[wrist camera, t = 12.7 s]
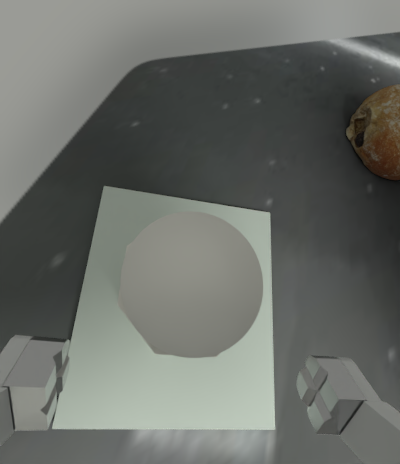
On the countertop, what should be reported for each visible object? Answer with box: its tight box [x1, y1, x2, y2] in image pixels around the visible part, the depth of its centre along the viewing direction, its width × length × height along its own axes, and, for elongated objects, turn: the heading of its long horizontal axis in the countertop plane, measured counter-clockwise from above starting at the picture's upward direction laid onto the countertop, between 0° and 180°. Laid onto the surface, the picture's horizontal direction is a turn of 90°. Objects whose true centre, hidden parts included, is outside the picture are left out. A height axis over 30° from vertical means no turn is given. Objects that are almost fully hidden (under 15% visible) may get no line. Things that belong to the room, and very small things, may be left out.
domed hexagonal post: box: [117, 211, 263, 358], centre depth 15 cm, size 6×6×9 cm
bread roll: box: [346, 84, 400, 180], centre depth 29 cm, size 10×10×8 cm
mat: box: [52, 186, 275, 430], centre depth 20 cm, size 14×16×1 cm
